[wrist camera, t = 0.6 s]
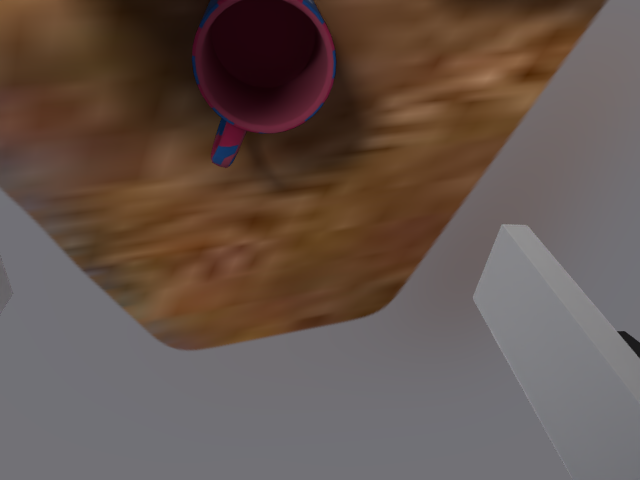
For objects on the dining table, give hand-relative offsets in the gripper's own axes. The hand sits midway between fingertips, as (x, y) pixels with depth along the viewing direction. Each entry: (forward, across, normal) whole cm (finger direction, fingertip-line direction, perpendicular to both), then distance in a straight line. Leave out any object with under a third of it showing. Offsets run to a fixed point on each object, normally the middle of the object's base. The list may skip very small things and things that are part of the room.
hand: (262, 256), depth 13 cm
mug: (+20, 0, 0) cm, 20 cm away
